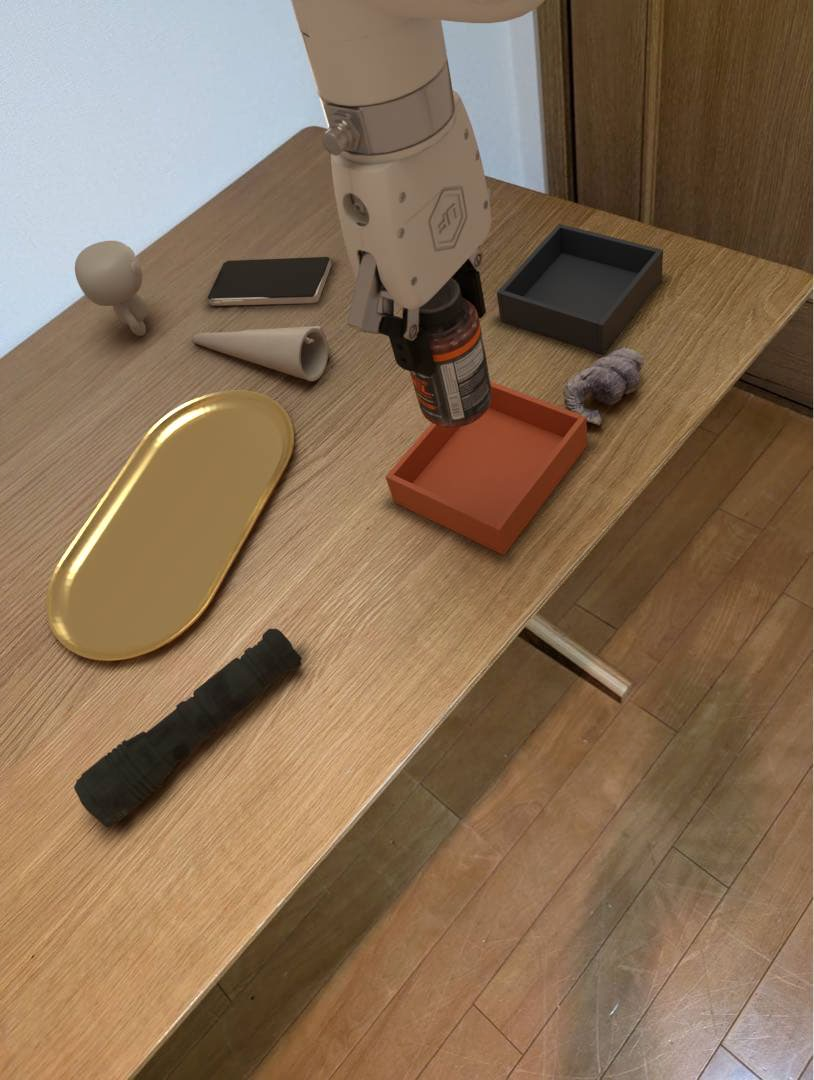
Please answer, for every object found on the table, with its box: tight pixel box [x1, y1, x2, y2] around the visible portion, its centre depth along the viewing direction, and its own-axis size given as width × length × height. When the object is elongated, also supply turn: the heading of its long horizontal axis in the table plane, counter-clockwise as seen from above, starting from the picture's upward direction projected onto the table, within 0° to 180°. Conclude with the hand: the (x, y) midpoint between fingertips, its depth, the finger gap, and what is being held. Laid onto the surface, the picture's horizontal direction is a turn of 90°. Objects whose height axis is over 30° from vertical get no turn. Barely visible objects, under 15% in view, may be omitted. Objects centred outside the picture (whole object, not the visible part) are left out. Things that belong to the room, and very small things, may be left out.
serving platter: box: [45, 389, 295, 662], centre depth 89 cm, size 19×35×2 cm, turn 159°
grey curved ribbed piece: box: [562, 346, 645, 427], centre depth 86 cm, size 5×5×10 cm
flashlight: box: [73, 628, 303, 828], centre depth 72 cm, size 5×21×5 cm, turn 130°
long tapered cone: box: [192, 325, 331, 382], centre depth 100 cm, size 6×6×19 cm
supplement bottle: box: [409, 278, 492, 428], centre depth 64 cm, size 6×6×11 cm
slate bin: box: [496, 223, 664, 355], centre depth 95 cm, size 13×13×4 cm
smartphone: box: [206, 256, 332, 307], centre depth 110 cm, size 8×1×15 cm
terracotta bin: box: [385, 380, 589, 556], centre depth 83 cm, size 13×15×4 cm
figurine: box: [74, 240, 148, 337], centre depth 106 cm, size 8×8×12 cm
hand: (441, 338), depth 63 cm, fingers closed on supplement bottle, 5 cm apart
